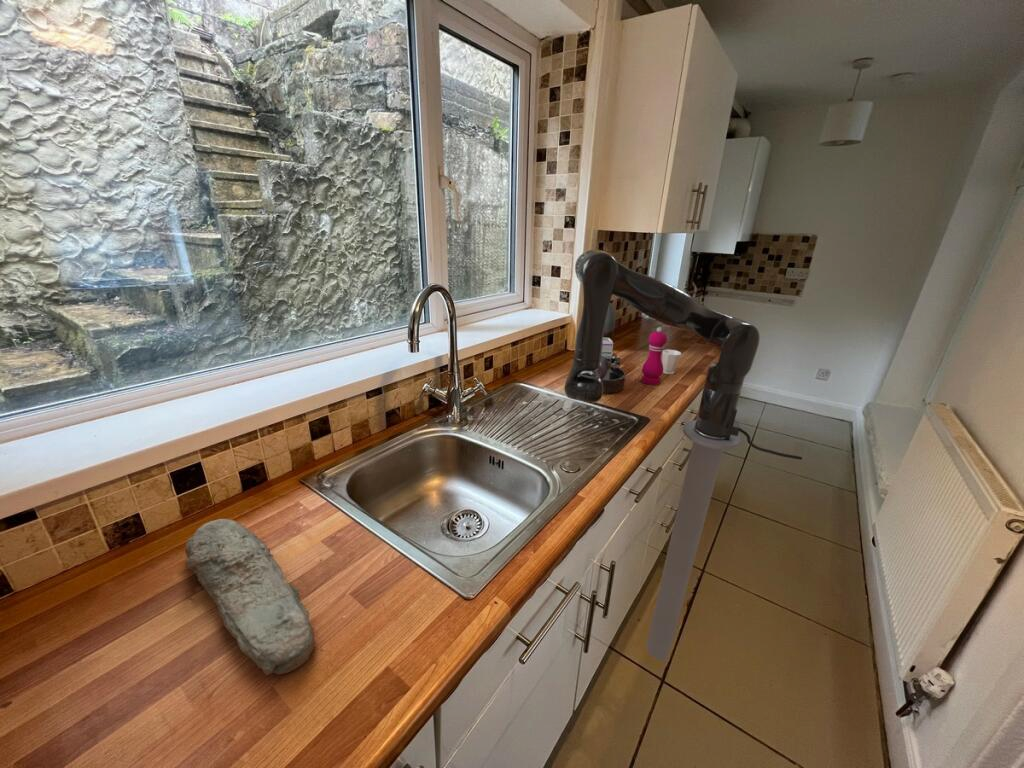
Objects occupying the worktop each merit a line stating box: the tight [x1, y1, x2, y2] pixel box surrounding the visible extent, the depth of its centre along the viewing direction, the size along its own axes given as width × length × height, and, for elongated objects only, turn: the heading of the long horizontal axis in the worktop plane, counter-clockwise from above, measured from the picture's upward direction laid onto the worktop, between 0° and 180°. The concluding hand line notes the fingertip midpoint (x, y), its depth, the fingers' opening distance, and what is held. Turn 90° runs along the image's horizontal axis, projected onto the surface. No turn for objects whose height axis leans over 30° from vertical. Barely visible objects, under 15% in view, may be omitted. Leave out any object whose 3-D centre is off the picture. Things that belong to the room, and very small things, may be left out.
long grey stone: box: [184, 518, 315, 676], centre depth 61 cm, size 35×5×10 cm
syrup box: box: [601, 337, 614, 380], centre depth 139 cm, size 6×6×14 cm
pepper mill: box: [641, 326, 668, 386], centre depth 142 cm, size 7×7×20 cm
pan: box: [602, 367, 627, 395], centre depth 141 cm, size 17×17×5 cm
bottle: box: [603, 302, 617, 341], centre depth 159 cm, size 9×9×30 cm
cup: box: [661, 349, 682, 375], centre depth 155 cm, size 7×10×8 cm
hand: (602, 354), depth 140 cm, fingers closed on syrup box, 7 cm apart
